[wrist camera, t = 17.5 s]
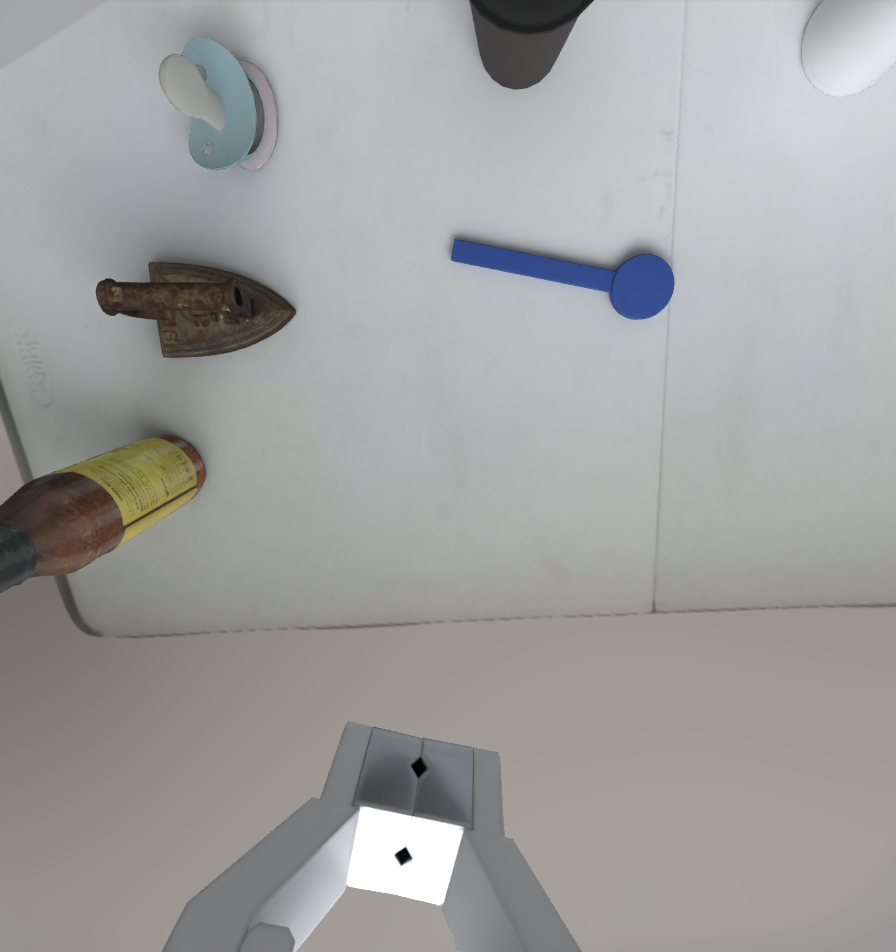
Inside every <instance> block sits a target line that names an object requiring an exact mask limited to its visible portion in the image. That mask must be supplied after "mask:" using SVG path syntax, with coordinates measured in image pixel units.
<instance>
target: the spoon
mask: <svg viewBox="0 0 896 952" xmlns="http://www.w3.org/2000/svg"><path fill="white" fill-rule="evenodd" d="M451 260H452V261H455V262H460V263H465V264H470V265H475V266H480V267H485V268H490V269H495V270H500V271H505V272H510V273H515V274H520V275H525V276H530V277H535V278H540V279H545V280H550V281H555V282H560V283H565V284H570V285H574V286H579V287H584V288H589V289H594V290H599V291H604V292H609V295H610V300H611V303H612V305H613V307H614V308H615V310H616V311H617V312H618V313H619V314H621V315H622V316H624V317H626V318H629V319H635V320H637V319H646V318H650V317H652V316H654V315H656V314H657V313H659V312H660V311H661V310H662V309H664V307H665V306H666V305H667V304H668V302H669V300H670V298H671V296H672V294H673V290H674V276H673V272H672V270H671V268H670V266H669V265H668V264H667V263H666V262H665V261H664V260H663V259H662V258H660V257H658V256H656V255H652V254H642V255H637V256H635V257H632V258H630V259H628V260H627V261H625V262H624V263H623V264H621V265H620V266H619V267H618V269H617V270H616V271H611V270H606V269H601V268H596V267H591V266H586V265H581V264H576V263H571V262H566V261H561V260H556V259H552V258H547V257H542V256H537V255H532V254H527V253H522V252H517V251H512V250H507V249H502V248H497V247H492V246H487V245H482V244H477V243H472V242H467V241H462V240H457V239H455V240H454V246H453V252H452V257H451Z"/></svg>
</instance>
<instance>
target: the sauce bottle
mask: <svg viewBox="0 0 896 952" xmlns="http://www.w3.org/2000/svg"><path fill="white" fill-rule="evenodd" d="M204 480H205V468H204V464H203V463H202V461H201V457H200V455H199V454H198V453H197V451H196V450H195V449H194V448H193V447H192V446H191V445H190V444H188V443H186V442H185V441H183V440H182V439H178V438H176V437H173V436H160V437H156V438H147V439H142V440H139V441H137V442H134V443H132V444H129V445H126V446H123V447H120V448H117V449H115V450H112V451H109V452H107V453H104V454H101V455H98V456H95V457H93V458H90V459H87V460H86V461H83V462H80V463H77V464H74V465H72V466H69V467H66V468H64V469H61V470H58V471H54V472H52V473H50V474H47V475H45V476H42V477H40V478H37V479H35V480H32V481H30V482H29V483H27V484H25V485H24V486H22V487H21V488H20V489H19V490H18V491H17V492H15V493H14V494H13V495H12V496H11V497H10V498H9V499H8V500H6V501H5V502H4V503H3V504H2V505H1V506H0V593H2V592H3V591H5V590H7V589H9V588H10V587H12V586H15V585H19V584H21V583H23V582H24V581H25V580H27V579H28V578H32V577H37V576H53V575H65V574H69V573H72V572H76V571H77V570H79V569H81V568H83V567H84V566H86V565H88V564H90V563H91V562H92V561H94V560H95V559H96V558H98V557H100V556H102V555H104V554H107V553H109V552H111V551H113V550H114V549H116V548H117V547H119V546H120V545H122V544H124V543H125V542H127V541H128V540H130V539H131V538H133V537H134V536H136V535H138V534H139V533H141V532H142V531H144V530H145V529H147V528H149V527H150V526H152V525H153V524H155V523H156V522H158V521H160V520H161V519H163V518H164V517H166V516H167V515H169V514H171V513H172V512H174V511H175V510H177V509H178V508H180V507H182V506H183V505H185V504H186V503H188V502H189V501H190V500H191V499H193V498H194V496H195V495H196V494H197V493H198V492H199V491H200V489H201V487H202V485H203V482H204Z"/></svg>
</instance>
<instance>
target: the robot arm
mask: <svg viewBox="0 0 896 952" xmlns="http://www.w3.org/2000/svg"><path fill="white" fill-rule="evenodd" d="M500 763H501V762H500V756H499V754H498V752H494V751H488V750H484V749H478V748H472V747H468V746H463V745H458V744H453V743H448V742H442V741H437V740H432V739H427V738H419V737H415V736H411V735H407V734H403V733H398V732H394V731H390V730H385V729H381V728H377V727H374V728H373V727H370V726H366V725H362V724H357V723H353V722H349V721H348V723H347V724H346V726H345V728H344V730H343V733H342V736H341V739H340V742H339V745H338V748H337V751H336V754H335V757H334V760H333V763H332V765H331V769H330V771H329V774H328V777H327V780H326V783H325V786H324V789H323V792H322V795H321V797H320V799H318V798H311V799H310V800H308V801H307V802H306V803H305V804H304V805H303V806H301V807H300V808H299V809H298V810H296V811H295V812H294V813H293V814H292V815H291V816H289V817H288V818H287V819H286V820H285V821H283V822H282V823H281V824H280V825H279V826H277V827H276V828H275V829H274V830H273V831H272V832H270V833H269V834H268V835H267V836H266V837H264V838H263V839H262V840H261V841H260V842H258V843H257V844H256V845H255V846H254V847H253V848H252V849H250V850H249V851H248V852H247V853H245V854H244V855H243V856H242V857H241V858H240V859H238V860H237V861H236V862H235V863H234V864H232V865H231V866H230V867H229V868H228V869H226V870H225V871H224V872H223V873H222V874H221V875H219V876H218V877H217V878H216V879H215V880H213V881H212V882H211V883H210V884H209V885H208V886H206V887H205V888H204V889H203V890H201V891H200V892H199V893H198V894H197V895H196V896H195V897H193V898H192V899H191V900H190V901H188V902H187V904H186V905H185V907H184V909H183V911H182V913H181V915H180V917H179V919H178V921H177V923H176V925H175V927H174V929H173V931H172V932H171V934H170V936H169V938H168V940H167V942H166V944H165V946H164V948H163V950H162V952H296V951H297V950H298V949H299V947H300V946H301V945H302V944H303V942H304V941H305V940H306V939H307V937H308V936H309V935H310V934H311V932H312V931H313V930H314V928H315V927H316V926H317V924H319V922H320V921H321V920H322V918H323V917H324V916H325V915H326V914H327V912H328V911H329V910H330V908H331V907H332V906H333V905H334V903H335V902H336V901H337V900H338V898H339V897H340V896H341V895H342V893H343V892H344V891H345V890H346V886H350V887H356V888H362V889H368V890H373V891H379V892H385V893H391V894H396V895H400V896H404V897H409V898H412V899H417V900H421V901H425V902H429V903H433V904H437V905H441V906H443V907H442V910H443V912H444V915H445V918H446V921H447V924H448V927H449V929H450V932H451V935H452V938H453V941H454V943H455V946H456V949H457V952H581V950H580V948H579V947H578V945H577V943H576V942H575V940H574V938H573V937H572V935H571V934H570V932H569V930H568V929H567V927H566V925H565V924H564V922H563V920H562V919H561V917H560V915H559V914H558V912H557V910H556V909H555V907H554V906H553V904H552V902H551V901H550V899H549V897H548V896H547V894H546V892H545V891H544V889H543V888H542V886H541V884H540V883H539V881H538V880H537V878H536V876H535V874H534V873H533V871H532V870H531V868H530V866H529V865H528V863H527V861H526V860H525V858H524V856H523V855H522V853H521V852H520V850H519V848H518V847H517V845H516V843H515V842H514V840H513V839H511V838H507V837H505V834H504V816H503V798H502V780H501V764H500Z"/></svg>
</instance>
